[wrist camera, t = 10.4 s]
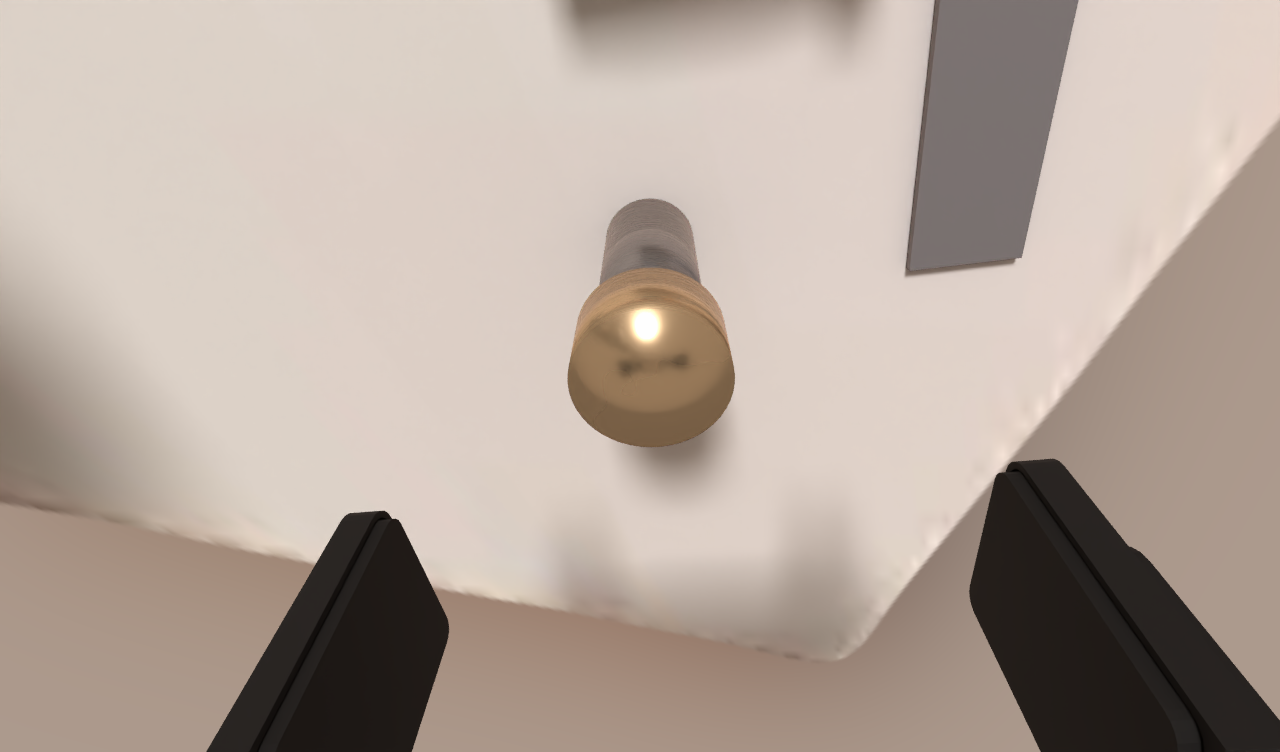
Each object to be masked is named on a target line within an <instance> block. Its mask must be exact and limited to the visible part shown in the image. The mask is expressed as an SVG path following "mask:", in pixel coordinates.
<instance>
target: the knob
mask: <svg viewBox="0 0 1280 752" xmlns="http://www.w3.org/2000/svg"><path fill="white" fill-rule="evenodd" d="M734 384H735V373H734V366H733V361H732V356H731V351H730V347H729V342H728V337H727V332H726V328H725V323H724V319H723V315H722V312H721V310H720V308H719V305H718V303H717V302H716V300H715V299H714V297H713V296H712V295H711V294H710V292H709V291H708V290H707V289H706V288H705V287H703V286H702V285H701V282H700V276H699V270H698V263H697V257H696V251H695V245H694V239H693V233H692V229H691V226H690V223H689V221H688V220H687V218H686V216H685V215H684V214H683V213H682V212H681V211H680V210H679V209H678V208H677V207H675V206H674V205H672V204H670V203H668V202H665V201H662V200H658V199H642V200H637V201H634V202H632V203H630V204H628V205H626V206H625V207H623V208H622V209H621V210H620V211H618V213H617V214H616V215H615V216H614V217H613V219H612V221H611V223H610V225H609V227H608V230H607V236H606V243H605V250H604V257H603V264H602V271H601V278H600V285H599V286H598V287H597V288H596V289H595V290H594V291H593V292H592V293H591V294H590V296H589V297H588V298H587V300H586V301H585V303H584V305H583V307H582V309H581V311H580V314H579V317H578V321H577V326H576V331H575V337H574V342H573V347H572V352H571V358H570V363H569V369H568V388H569V393H570V396H571V399H572V402H573V404H574V406H575V408H576V409H577V411H578V412H579V414H580V415H581V416H582V418H583V419H584V420H585V421H586V422H587V423H588V424H589V425H590V426H592V427H593V428H594V429H595V430H597V431H598V432H600V433H601V434H603V435H605V436H607V437H609V438H611V439H613V440H616V441H618V442H621V443H625V444H629V445H634V446H640V447H661V446H668V445H673V444H677V443H681V442H683V441H686V440H689V439H691V438H693V437H695V436H697V435H699V434H701V433H702V432H704V431H705V430H707V429H708V428H709V427H710V426H712V425H713V424H714V423H715V422H716V421H717V420H718V419H719V418H720V417H721V415H722V414H723V412H724V411H725V409H726V408H727V406H728V404H729V402H730V400H731V397H732V394H733V389H734Z"/></svg>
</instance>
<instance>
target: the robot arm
mask: <svg viewBox="0 0 1280 752" xmlns="http://www.w3.org/2000/svg"><path fill="white" fill-rule="evenodd" d="M969 592H970V600H971V605H972V608H973V611H974V613H975V615H976V617H977V619H978V622H979V624H980V626H981V628H982V630H983V632H984V634H985V636H986V638H987V640H988V642H989V644H990V647H991V649H992V651H993V653H994V655H995V657H996V659H997V661H998V663H999V665H1000V668H1001V670H1002V671H1003V674H1004V676H1005V678H1006V680H1007V682H1008V684H1009V686H1010V688H1011V690H1012V692H1013V695H1014V697H1015V699H1016V701H1017V703H1018V705H1019V707H1020V709H1021V711H1022V713H1023V715H1024V718H1025V720H1026V722H1027V724H1028V726H1029V728H1030V730H1031V732H1032V734H1033V736H1034V738H1035V741H1036V743H1037V745H1038V747H1039V749H1040V751H1041V752H1280V720H1279V719H1278V718H1277V717H1276V715H1275V714H1274V713H1273V712H1272V711H1271V709H1270V708H1269V707H1268V706H1267V704H1266V703H1265V702H1264V701H1263V699H1262V698H1261V697H1260V696H1259V694H1258V693H1257V692H1256V691H1255V690H1254V689H1253V687H1252V686H1251V685H1250V683H1249V682H1248V681H1247V680H1246V679H1245V677H1244V676H1243V675H1242V674H1241V673H1240V671H1239V670H1238V669H1237V668H1236V666H1235V665H1234V664H1233V663H1232V662H1231V660H1230V659H1229V658H1228V657H1227V655H1226V654H1225V653H1224V652H1223V650H1222V649H1221V648H1220V647H1219V646H1218V644H1217V643H1216V642H1215V641H1214V639H1213V638H1212V637H1211V636H1210V634H1209V633H1208V632H1207V631H1206V629H1205V628H1204V627H1203V626H1202V625H1201V623H1200V622H1199V621H1198V620H1197V618H1196V617H1195V616H1194V615H1193V614H1192V612H1191V611H1190V610H1189V609H1188V607H1187V606H1186V605H1185V604H1184V603H1183V601H1182V600H1181V599H1180V598H1179V596H1178V595H1177V594H1176V593H1175V591H1174V590H1173V589H1172V588H1171V587H1170V585H1169V584H1168V583H1167V582H1166V580H1165V579H1164V578H1163V577H1162V576H1161V574H1160V573H1159V572H1158V571H1157V569H1156V568H1155V567H1154V566H1153V564H1151V562H1150V561H1149V560H1148V559H1147V558H1146V557H1145V556H1144V555H1143V554H1142V553H1141V552H1139V551H1137V550H1136V549H1134V548H1132V547H1129V546H1128V545H1127V544H1126V543H1125V541H1124V540H1123V539H1122V538H1121V536H1120V535H1119V534H1118V533H1117V531H1116V530H1115V529H1114V528H1113V526H1112V525H1111V524H1110V523H1109V521H1108V520H1107V519H1106V518H1105V516H1104V515H1103V514H1102V513H1101V511H1100V510H1099V509H1098V508H1097V506H1096V505H1095V504H1094V503H1093V501H1092V500H1091V499H1090V498H1089V496H1088V495H1087V494H1086V493H1085V492H1084V490H1083V489H1082V488H1081V486H1080V485H1079V484H1078V483H1077V481H1076V480H1075V479H1074V478H1073V476H1072V475H1071V474H1070V473H1069V471H1068V470H1067V469H1066V468H1065V466H1064V465H1063V464H1062V463H1060V461H1058V460H1055V459H1044V460H1033V461H1018V462H1011V463H1010V464H1009V465H1008V467H1007V469H1006V472H1004V473H998V474H997V475H996V478H995V481H994V485H993V490H992V494H991V498H990V502H989V507H988V511H987V515H986V519H985V524H984V528H983V533H982V536H981V541H980V545H979V549H978V554H977V558H976V562H975V566H974V571H973V575H972V579H971V584H970V590H969ZM448 634H449V624H448V619H447V617H446V615H445V612H444V610H443V608H442V606H441V604H440V602H439V600H438V598H437V596H436V594H435V592H434V590H433V588H432V586H431V584H430V582H429V580H428V578H427V576H426V574H425V571H424V569H423V567H422V565H421V563H420V561H419V559H418V557H417V555H416V553H415V551H414V549H413V547H412V545H411V543H410V541H409V539H408V537H407V535H406V533H405V531H404V529H403V527H402V525H401V523H400V522H399V520H397V519H392V518H391V517H390V515H389V514H388V513H387V512H385V511H374V512H361V513H349V514H348V515H346V516H345V517H344V518H343V519H342V520H341V522H340V524H339V525H338V527H337V529H336V531H335V532H334V534H333V536H332V537H331V539H330V541H329V543H328V544H327V546H326V548H325V549H324V551H323V553H322V555H321V556H320V558H319V560H318V561H317V563H316V565H315V567H314V568H313V570H312V572H311V574H310V575H309V577H308V579H307V580H306V582H305V584H304V585H303V587H302V589H301V591H300V592H299V594H298V596H297V597H296V599H295V601H294V603H293V604H292V606H291V608H290V609H289V611H288V613H287V615H286V616H285V618H284V620H283V621H282V623H281V625H280V627H279V628H278V630H277V632H276V633H275V635H274V637H273V639H272V640H271V642H270V644H269V645H268V647H267V649H266V651H265V652H264V654H263V656H262V657H261V659H260V661H259V663H258V664H257V666H256V668H255V670H254V671H253V673H252V675H251V676H250V678H249V680H248V682H247V683H246V685H245V686H244V688H243V690H242V692H241V693H240V695H239V697H238V699H237V700H236V702H235V704H234V705H233V707H232V709H231V711H230V712H229V714H228V716H227V717H226V719H225V721H224V722H223V724H222V726H221V728H220V729H219V731H218V733H217V734H216V736H215V738H214V740H213V741H212V743H211V745H210V746H209V748H208V750H207V752H412V749H413V746H414V743H415V740H416V737H417V734H418V730H419V727H420V724H421V721H422V718H423V715H424V712H425V709H426V706H427V702H428V699H429V696H430V693H431V690H432V687H433V684H434V681H435V678H436V674H437V672H438V668H439V665H440V662H441V659H442V656H443V653H444V649H445V647H446V644H447V639H448Z"/></svg>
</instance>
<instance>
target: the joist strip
mask: <svg viewBox="0 0 1280 752" xmlns="http://www.w3.org/2000/svg"><path fill="white" fill-rule="evenodd" d="M1077 4H1078V0H936V2H935V11H934V20H933V29H932V38H931V47H930V56H929V65H928V74H927V83H926V92H925V102H924V111H923V120H922V129H921V138H920V147H919V156H918V165H917V174H916V183H915V192H914V201H913V211H912V220H911V229H910V238H909V247H908V256H907V265H906V268H907V269H908V270H909V271H915V270H923V269H931V268H940V267H948V266H956V265H965V264H973V263H982V262H990V261H998V260H1007V259H1015V258H1022V254H1023V249H1024V245H1025V240H1026V236H1027V231H1028V227H1029V222H1030V218H1031V213H1032V208H1033V204H1034V199H1035V195H1036V190H1037V186H1038V181H1039V177H1040V172H1041V168H1042V163H1043V159H1044V154H1045V149H1046V145H1047V140H1048V136H1049V131H1050V127H1051V122H1052V118H1053V113H1054V109H1055V104H1056V99H1057V95H1058V90H1059V86H1060V81H1061V77H1062V72H1063V68H1064V63H1065V59H1066V54H1067V50H1068V45H1069V40H1070V36H1071V31H1072V27H1073V22H1074V18H1075V13H1076V9H1077Z"/></svg>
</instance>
